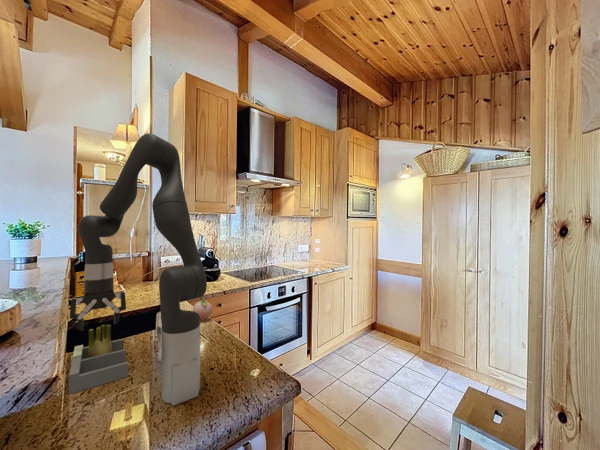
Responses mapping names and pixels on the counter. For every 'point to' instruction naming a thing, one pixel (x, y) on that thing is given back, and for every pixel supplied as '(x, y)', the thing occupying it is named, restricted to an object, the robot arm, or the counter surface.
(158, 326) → the beer glass
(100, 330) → the fennel bulb
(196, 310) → the decorative fruit
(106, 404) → the counter surface
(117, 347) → the comb rack
